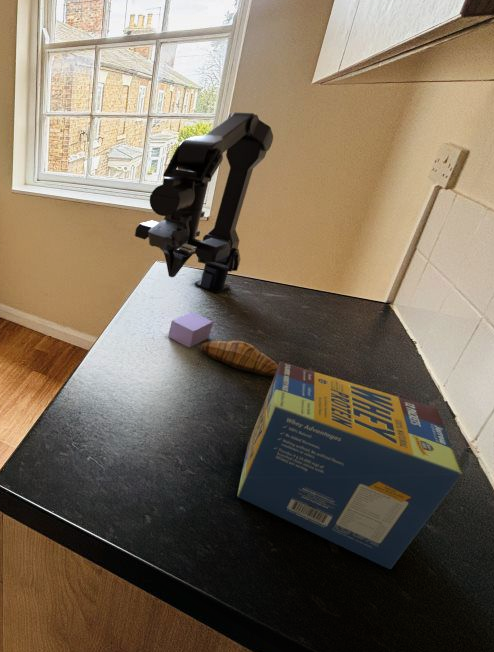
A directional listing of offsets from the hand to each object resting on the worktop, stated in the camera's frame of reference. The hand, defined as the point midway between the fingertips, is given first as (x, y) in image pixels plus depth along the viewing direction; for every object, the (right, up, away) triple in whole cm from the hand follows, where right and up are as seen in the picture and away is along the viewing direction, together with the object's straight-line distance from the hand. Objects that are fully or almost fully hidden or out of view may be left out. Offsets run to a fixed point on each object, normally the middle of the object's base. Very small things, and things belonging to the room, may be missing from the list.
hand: (171, 276), depth 88 cm
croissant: (+8, -17, -11) cm, 22 cm away
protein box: (+2, -30, -36) cm, 47 cm away
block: (+2, -13, -2) cm, 13 cm away
